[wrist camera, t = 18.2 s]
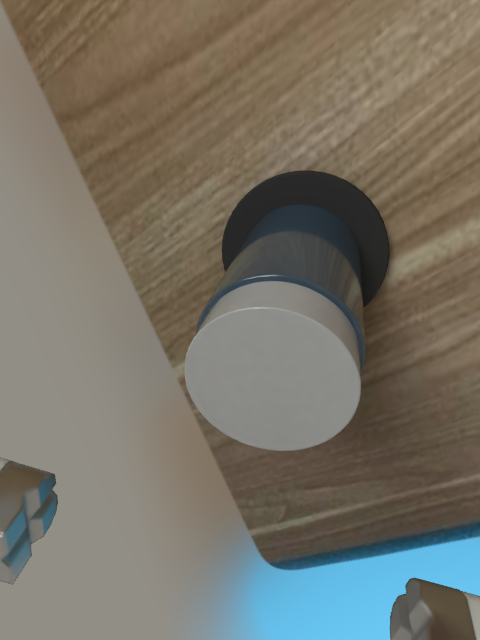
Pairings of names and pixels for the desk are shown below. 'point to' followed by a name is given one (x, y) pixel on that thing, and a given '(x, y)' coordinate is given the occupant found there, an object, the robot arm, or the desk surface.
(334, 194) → the coaster
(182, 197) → the desk surface
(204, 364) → the jar
